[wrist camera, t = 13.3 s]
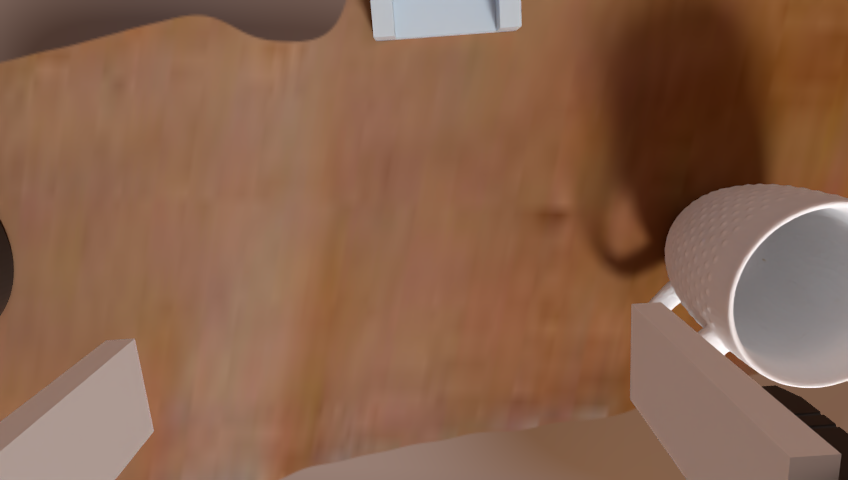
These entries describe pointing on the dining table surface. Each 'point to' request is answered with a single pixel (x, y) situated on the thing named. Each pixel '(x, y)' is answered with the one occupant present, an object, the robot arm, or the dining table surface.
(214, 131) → the dining table surface
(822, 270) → the mug
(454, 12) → the dock
